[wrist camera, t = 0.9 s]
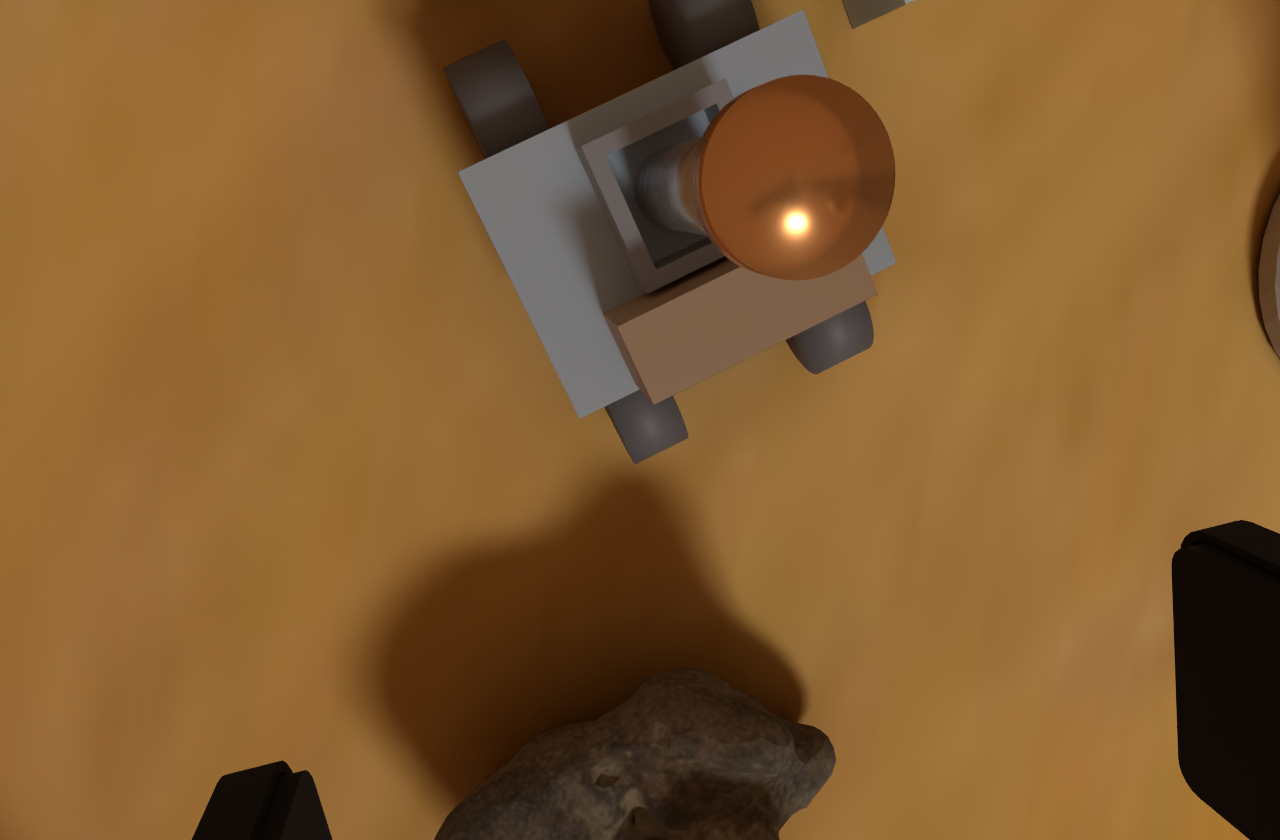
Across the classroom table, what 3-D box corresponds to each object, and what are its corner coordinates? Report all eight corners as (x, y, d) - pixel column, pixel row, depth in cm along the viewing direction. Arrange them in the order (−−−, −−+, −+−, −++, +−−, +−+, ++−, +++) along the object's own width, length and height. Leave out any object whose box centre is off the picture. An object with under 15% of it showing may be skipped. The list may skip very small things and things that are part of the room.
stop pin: (705, 103, 27) (855, 40, 16) (752, 219, 28) (921, 229, 17) (593, 156, 27) (672, 126, 16) (645, 270, 28) (750, 312, 17)
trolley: (719, -51, 31) (800, -134, 23) (864, 328, 35) (976, 364, 27) (417, 89, 30) (397, 51, 22) (599, 459, 34) (636, 534, 26)
